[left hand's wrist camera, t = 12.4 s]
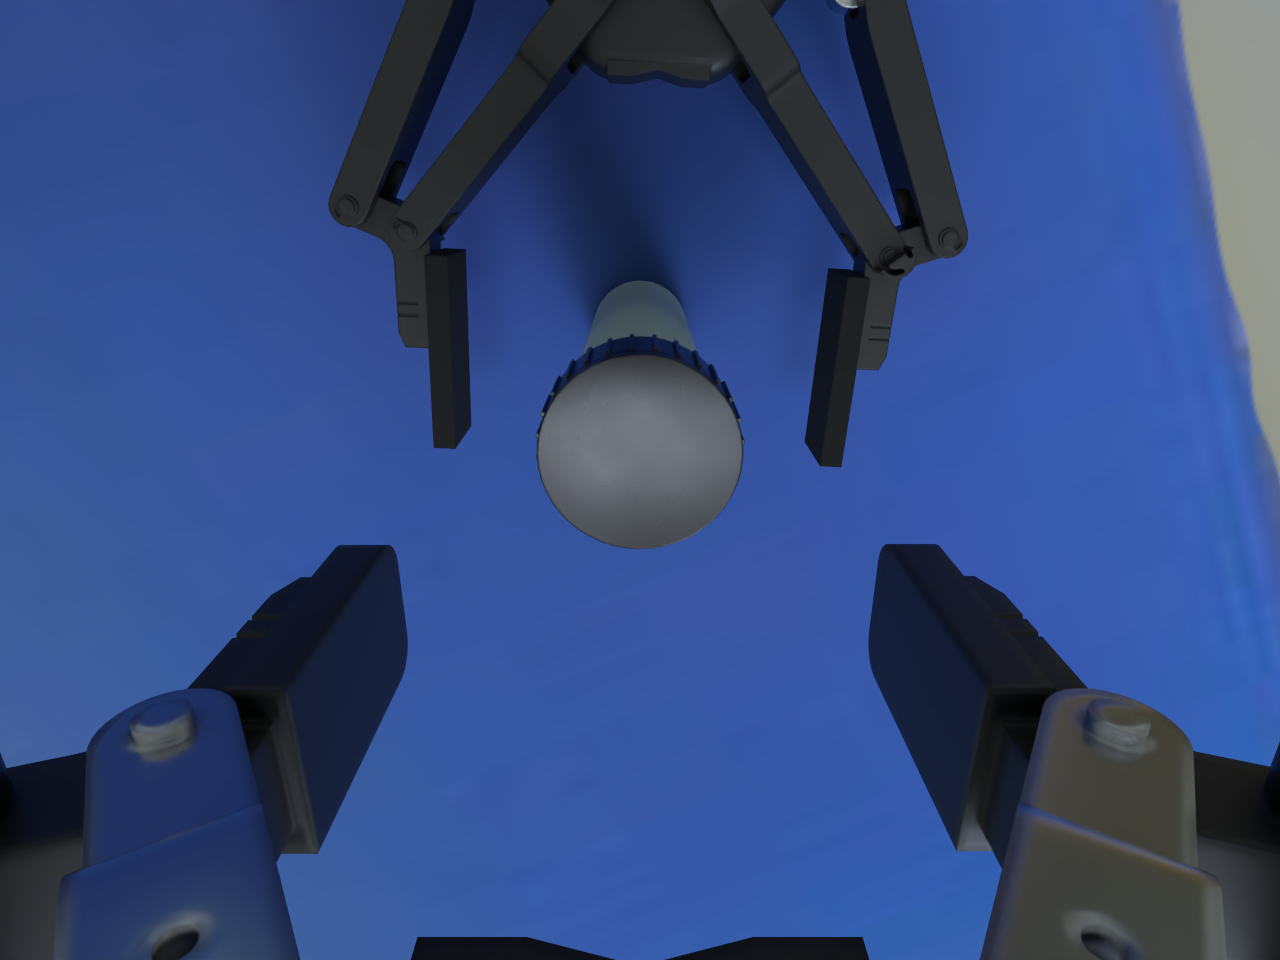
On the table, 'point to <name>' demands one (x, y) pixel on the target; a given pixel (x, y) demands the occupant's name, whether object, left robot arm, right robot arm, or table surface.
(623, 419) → the lid
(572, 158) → the table surface
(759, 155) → the table surface
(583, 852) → the table surface
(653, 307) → the pale green rounded cylinder
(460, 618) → the table surface
